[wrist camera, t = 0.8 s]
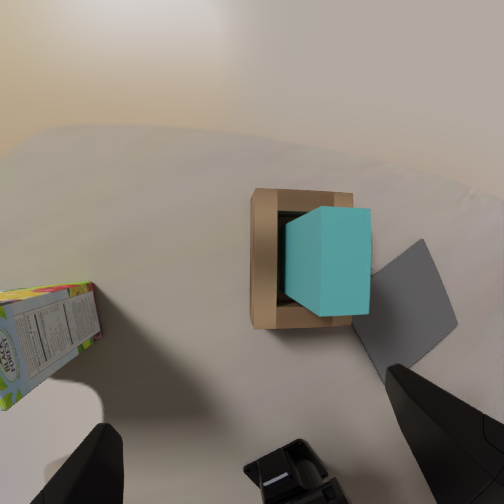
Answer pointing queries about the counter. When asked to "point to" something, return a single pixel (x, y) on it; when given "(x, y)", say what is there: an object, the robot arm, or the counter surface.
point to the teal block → (328, 260)
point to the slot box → (268, 257)
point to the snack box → (42, 334)
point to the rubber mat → (405, 311)
